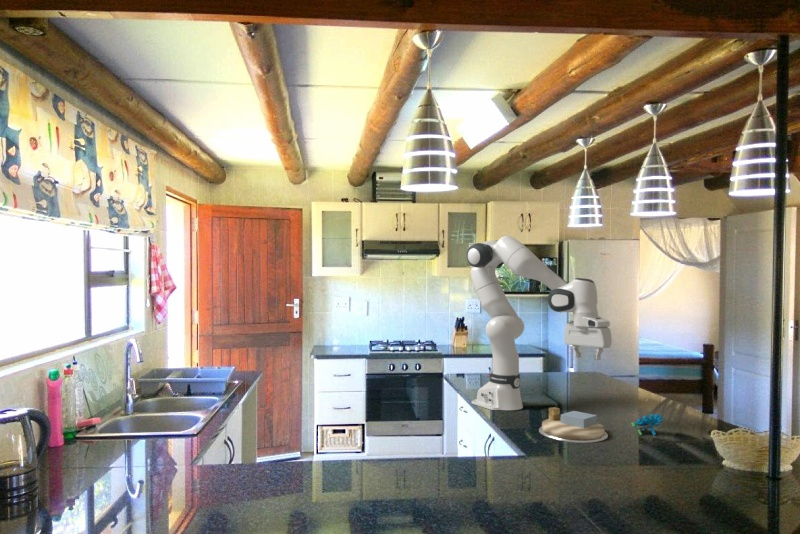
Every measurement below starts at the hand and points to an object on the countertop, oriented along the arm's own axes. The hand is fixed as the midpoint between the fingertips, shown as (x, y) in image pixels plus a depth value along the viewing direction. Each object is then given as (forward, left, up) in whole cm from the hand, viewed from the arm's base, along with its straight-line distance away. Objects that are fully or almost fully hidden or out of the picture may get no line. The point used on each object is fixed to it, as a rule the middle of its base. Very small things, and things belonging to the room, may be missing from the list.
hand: (587, 358), depth 197 cm
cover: (+2, -9, -22) cm, 24 cm away
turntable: (+2, -13, -25) cm, 28 cm away
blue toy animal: (+19, +7, -25) cm, 32 cm away
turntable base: (+2, -13, -25) cm, 28 cm away
